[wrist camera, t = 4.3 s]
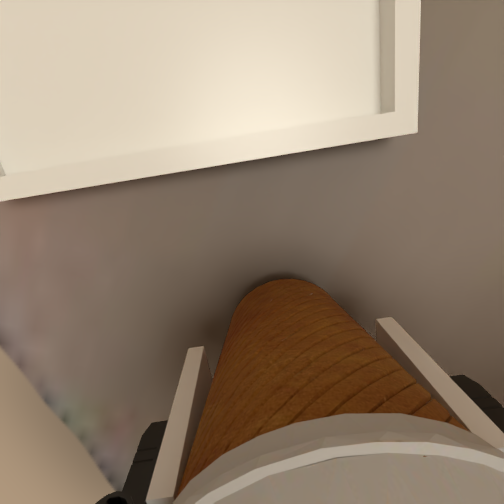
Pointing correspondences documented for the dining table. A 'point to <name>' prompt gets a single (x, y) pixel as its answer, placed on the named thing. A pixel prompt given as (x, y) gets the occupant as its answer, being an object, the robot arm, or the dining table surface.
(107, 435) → the dining table surface
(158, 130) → the tray
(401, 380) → the disposable coffee cup
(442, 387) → the robot arm
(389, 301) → the dining table surface
